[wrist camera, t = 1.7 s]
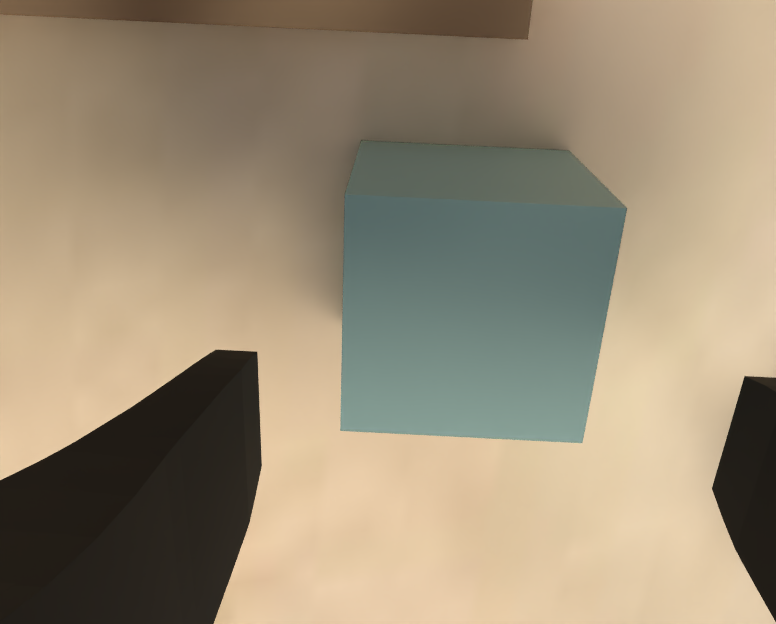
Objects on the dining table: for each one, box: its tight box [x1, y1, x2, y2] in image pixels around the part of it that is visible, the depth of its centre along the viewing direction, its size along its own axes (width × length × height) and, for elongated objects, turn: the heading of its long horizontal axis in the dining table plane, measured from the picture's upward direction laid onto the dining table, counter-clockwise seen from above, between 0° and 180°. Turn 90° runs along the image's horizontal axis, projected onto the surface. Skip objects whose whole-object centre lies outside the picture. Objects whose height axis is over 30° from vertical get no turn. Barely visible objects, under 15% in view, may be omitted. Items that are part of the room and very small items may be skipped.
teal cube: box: [340, 140, 627, 443], centre depth 16 cm, size 5×5×5 cm
